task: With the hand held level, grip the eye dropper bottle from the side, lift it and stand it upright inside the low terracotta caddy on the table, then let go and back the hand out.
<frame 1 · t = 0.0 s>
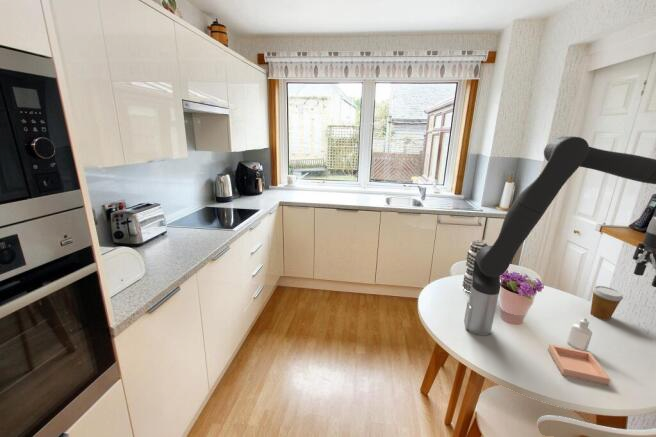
hand: (646, 280, 94), 29 cm above the table, tool pointing down, fingers open, 8 cm apart
terracotta caddy: (575, 366, 97), on the table
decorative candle: (471, 290, 144), on the table
eye dropper bottle: (576, 346, 107), on the table
disposable coffee cup: (599, 316, 126), on the table
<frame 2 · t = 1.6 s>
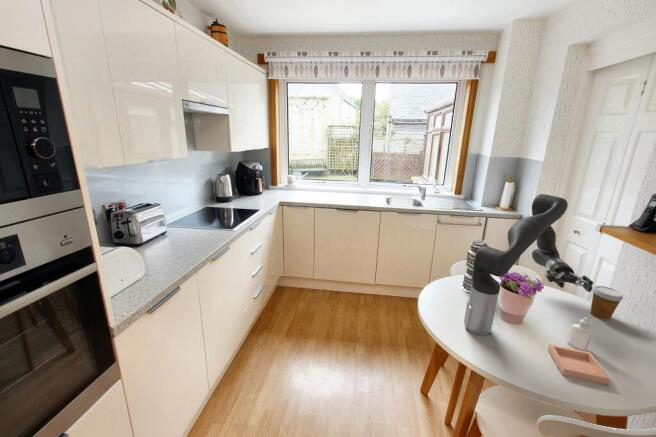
hand: (576, 287, 112), 18 cm above the table, tool horizontal, fingers open, 8 cm apart
nothing on the table moved.
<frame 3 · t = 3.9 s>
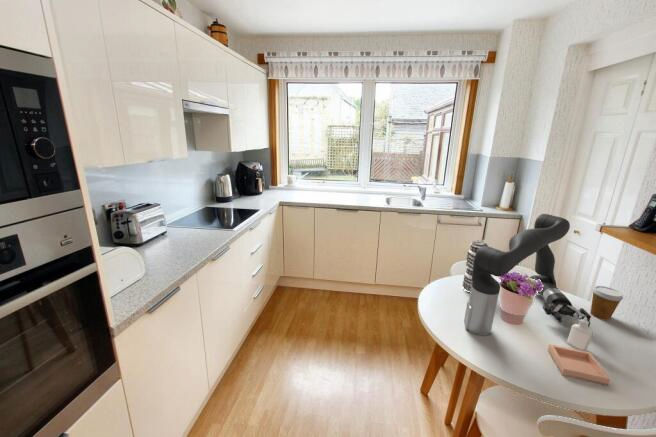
hand: (574, 322, 110), 6 cm above the table, tool horizontal, fingers open, 8 cm apart
nothing on the table moved.
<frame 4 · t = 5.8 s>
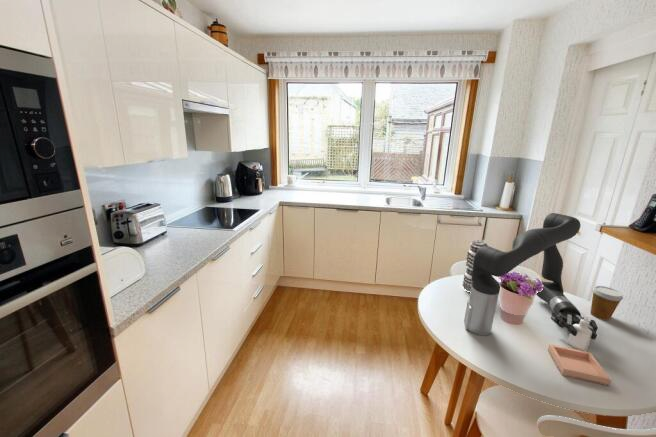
hand: (584, 335, 102), 7 cm above the table, tool horizontal, fingers closed on eye dropper bottle, 5 cm apart
eye dropper bottle: (576, 346, 107), on the table, touching gripper
everything else where it was.
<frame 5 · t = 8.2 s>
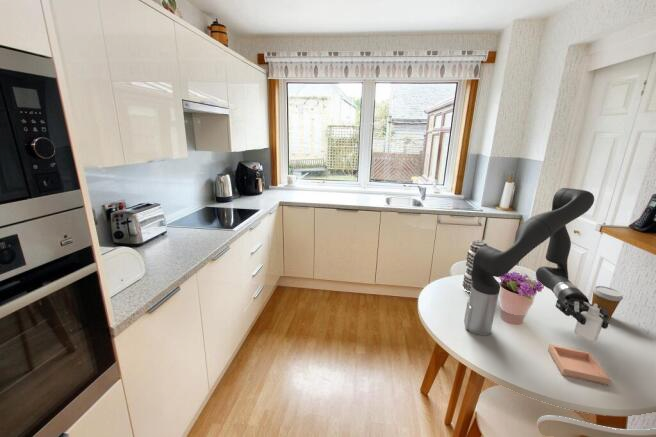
hand: (594, 324, 90), 18 cm above the table, tool horizontal, fingers closed on eye dropper bottle, 5 cm apart
eye dropper bottle: (584, 337, 95), point 11 cm above the table, touching gripper
everything else where it was.
when the fingers open (8 cm above the table, at t = 10.5 s): eye dropper bottle drops 1 cm, resting on terracotta caddy.
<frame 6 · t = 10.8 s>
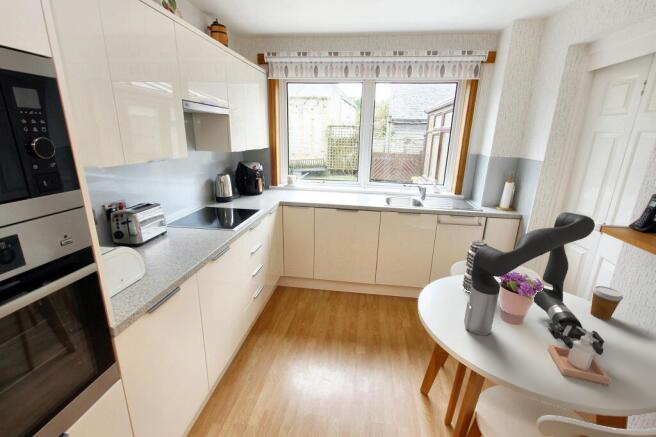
hand: (585, 349, 93), 8 cm above the table, tool horizontal, fingers open, 7 cm apart
eye dropper bottle: (577, 365, 97), resting on terracotta caddy
everything else where it was.
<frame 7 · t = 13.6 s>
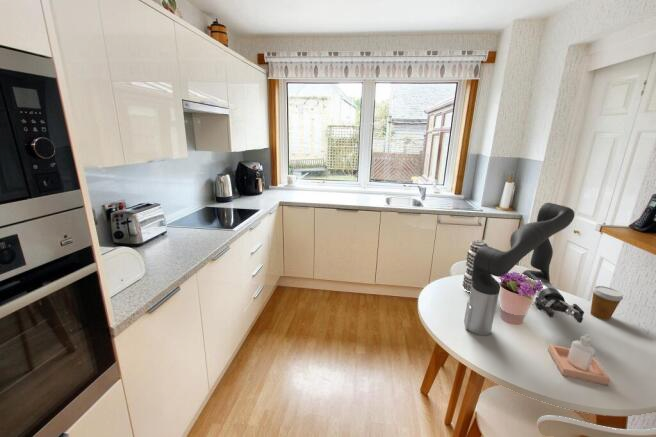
hand: (566, 317, 105), 11 cm above the table, tool horizontal, fingers open, 8 cm apart
nothing on the table moved.
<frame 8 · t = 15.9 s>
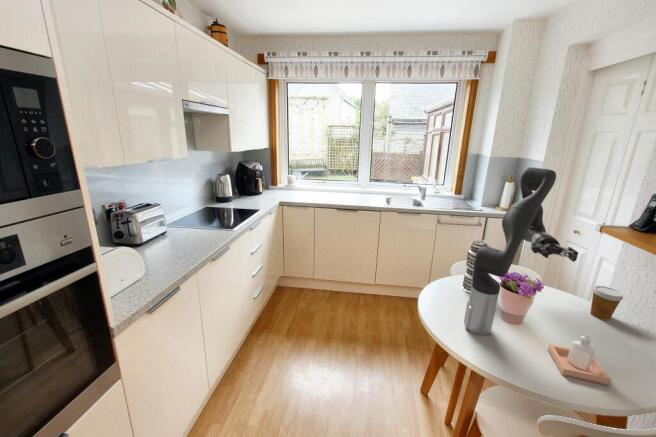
hand: (560, 257, 109), 30 cm above the table, tool horizontal, fingers open, 8 cm apart
nothing on the table moved.
at the end: eye dropper bottle inside the target area on the terracotta caddy (0.4 cm from its centre), point 0.3 cm above the terracotta caddy's base; eye dropper bottle tilted 0°; the gripper is holding nothing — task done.
